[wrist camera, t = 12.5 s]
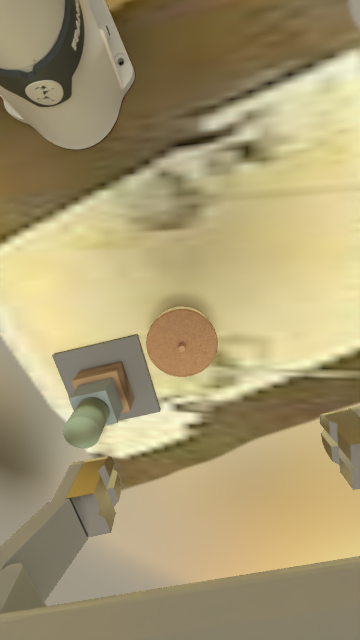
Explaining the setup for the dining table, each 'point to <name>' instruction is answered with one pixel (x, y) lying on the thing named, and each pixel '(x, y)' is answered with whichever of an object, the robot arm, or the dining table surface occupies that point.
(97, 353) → the mat
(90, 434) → the olive green cylinder
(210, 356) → the lidded jar
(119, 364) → the block
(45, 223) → the dining table surface
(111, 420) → the tower top
